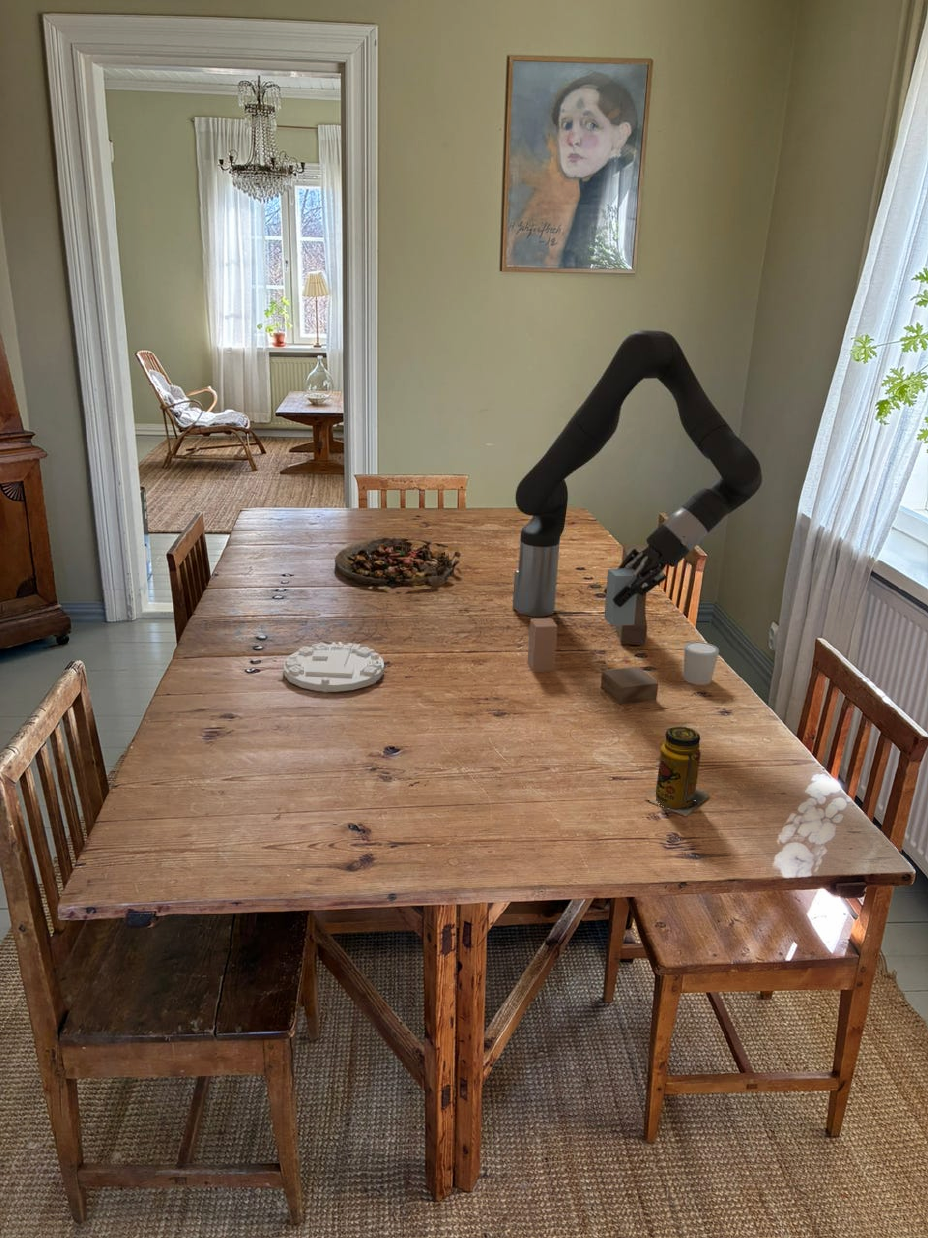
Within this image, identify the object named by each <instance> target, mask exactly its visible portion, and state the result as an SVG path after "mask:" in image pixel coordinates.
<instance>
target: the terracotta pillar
mask: <svg viewBox="0 0 928 1238" xmlns="http://www.w3.org/2000/svg"><path fill="white" fill-rule="evenodd" d="M529 621H530V622H529V633H528V635H529V636H528V648H527V649H528V651H527V665H528V667H529V668H530V671H531V672H532V673H537V672H538V673H541V672H542V673H544V672H546V673H547V672H554V671H555V660H556V650H557V649H556V647H557V635H558V625H557V624H556V622H555V621H554V620H553V618H552V617H547V618H544V617H543V618H541V617H540V618H530V620H529Z"/></svg>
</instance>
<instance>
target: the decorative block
mask: <svg viewBox="0 0 928 1238" xmlns="http://www.w3.org/2000/svg"><path fill="white" fill-rule="evenodd" d="M647 547H648V546H647V545H646V544H643V545H641V544H624V545H623V548H622V557H621V563H622V562H623V561H624V560H625V559H626V557H627V556H628V555H629V554H630V553H631V551H632V550H633V549H636V550H637V551H638V552H641V551H643V550H645V549H646V548H647ZM625 568H626V567H625ZM645 587H646V586H644V587H643V589H644V588H645ZM646 601H647V593H646V594H644V595H643V596H641V595H640V594H637V599H636V610H635V621H634V625H620V626H614V628H615V630H616V633H617V636H618V639H619V643H620V644H621V645H625V646H627V645H630V646H645V645H646V641H647V632H648V631H647V630H648V624H647V616H646V610H647V609H646V608H647V607H646V604H647V602H646Z"/></svg>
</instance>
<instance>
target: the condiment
mask: <svg viewBox="0 0 928 1238" xmlns="http://www.w3.org/2000/svg"><path fill="white" fill-rule="evenodd" d="M663 741H664V742H663V744H662V745H661V749H660V756H659V764H658V772H657V778H656V779H657V781H656V786H655V790H654V791H653V792H652V793H651V794H650V795H651V796H656V801H658V802H657V804H658V803H660V804H659V805H657V804H656V803H655V802H654V801H650V800H649V801H648V800H647V799H646V798H644V800H645V801H648V802H650V803H652V804H654V805H656V806H659V807H661V808H662V809H666V810H668V811H671V812H672V813H677V814H679V815H681V816H684V817H686V818H687V816H689V815H690V814H691V813H692V812H694V811H695V810H696V809H697V808H698V807H699V806H700V805H701V804H702V803H703V802H704V801H706V800H708V798H709V797H710V796H711V794H710V793H707V792H703V791H701V790H698V789H696V788H697V783H698V776H699V775H698V774H699V769H700V768H699V767H700V761H701V760H700V759H701V755H702V754H701V750H700V748H701V747H700V742H701V736H700V734H699V732H697V731H696V730H695V729H692V728H690V727H686V726H677V725H676V726H671V727H670V728H668V729H667V730H666V732H665V736H664V740H663ZM655 792H656V794H655ZM653 794H655V795H653ZM694 800H696V801H694ZM660 805H662V806H660ZM663 806H664V807H665V808H664V807H663ZM668 808H669V809H668Z"/></svg>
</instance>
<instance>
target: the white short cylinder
mask: <svg viewBox="0 0 928 1238" xmlns="http://www.w3.org/2000/svg"><path fill="white" fill-rule="evenodd" d="M683 651H684V652H683V655H684V656H683V677H682V678H683V680H684V681H686V682H687V683H690V684H692V685H698V686H703V685H704V686H706V685H709V684H710V683H712V680H713V677H714V676H713V675H714V672H715V668H716V665H717V660H718V656H719V654H720V650H719V648H718V647H717V646H716V645H714V644H712V643H708V642H704V641H691V642H687V643H685V644H684V648H683Z"/></svg>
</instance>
